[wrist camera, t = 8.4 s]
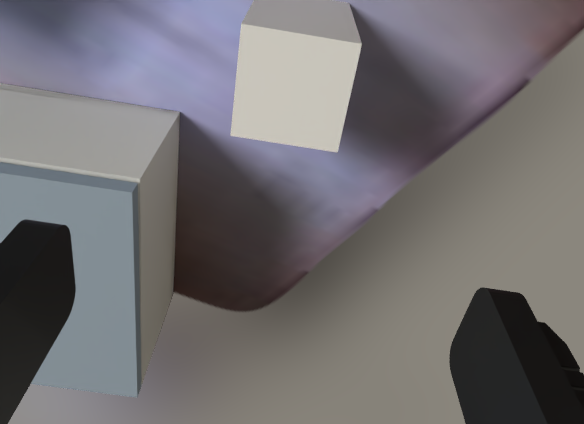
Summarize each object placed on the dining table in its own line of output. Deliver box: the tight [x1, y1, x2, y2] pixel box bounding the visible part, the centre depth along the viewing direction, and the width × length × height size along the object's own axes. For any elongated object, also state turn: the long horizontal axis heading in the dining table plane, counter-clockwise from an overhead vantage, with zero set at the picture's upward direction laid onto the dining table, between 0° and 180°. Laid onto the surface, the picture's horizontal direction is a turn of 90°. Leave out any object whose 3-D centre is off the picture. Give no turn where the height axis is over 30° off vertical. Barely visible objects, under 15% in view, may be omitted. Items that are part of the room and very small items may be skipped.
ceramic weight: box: [231, 0, 362, 152], centre depth 23 cm, size 4×4×8 cm
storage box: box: [0, 83, 180, 384], centre depth 29 cm, size 14×16×8 cm
